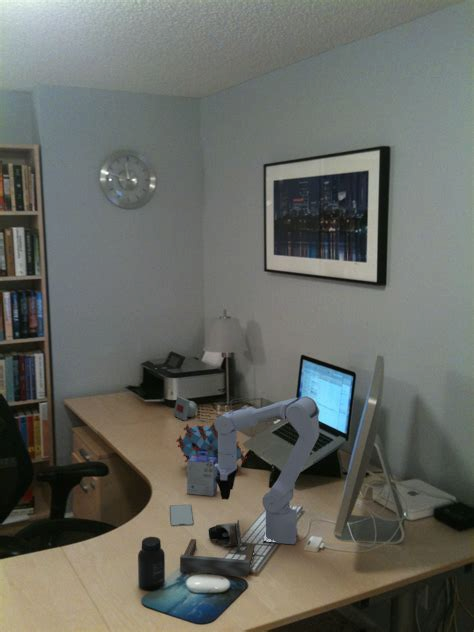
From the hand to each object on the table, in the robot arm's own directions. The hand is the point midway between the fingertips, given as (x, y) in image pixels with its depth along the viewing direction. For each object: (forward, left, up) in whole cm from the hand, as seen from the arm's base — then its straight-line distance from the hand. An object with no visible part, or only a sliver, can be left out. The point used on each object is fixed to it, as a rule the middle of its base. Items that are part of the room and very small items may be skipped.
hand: (227, 493), depth 200 cm
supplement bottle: (+14, +36, -11) cm, 40 cm away
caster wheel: (-1, +10, -11) cm, 15 cm away
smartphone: (+16, -5, -11) cm, 20 cm away
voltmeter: (+33, -108, -11) cm, 113 cm away
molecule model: (+14, -45, -11) cm, 48 cm away
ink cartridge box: (+13, -24, -11) cm, 29 cm away
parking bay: (-1, +21, -10) cm, 24 cm away
